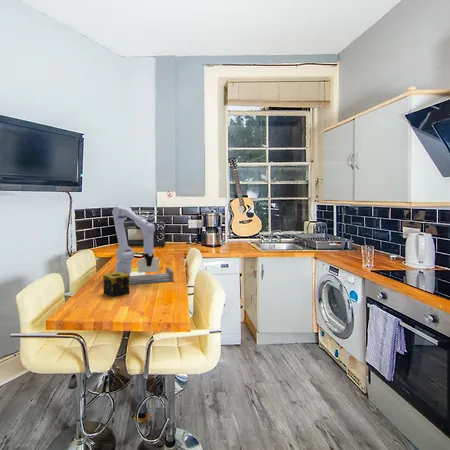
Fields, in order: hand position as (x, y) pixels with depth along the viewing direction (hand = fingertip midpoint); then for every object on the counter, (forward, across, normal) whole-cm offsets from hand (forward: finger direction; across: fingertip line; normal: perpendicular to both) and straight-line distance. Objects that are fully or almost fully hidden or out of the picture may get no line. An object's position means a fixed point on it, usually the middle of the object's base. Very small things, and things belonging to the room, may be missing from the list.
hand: (148, 265), depth 202 cm
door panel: (+3, 0, 0) cm, 4 cm away
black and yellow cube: (+9, -21, +20) cm, 30 cm away
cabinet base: (+9, 0, 0) cm, 9 cm away
